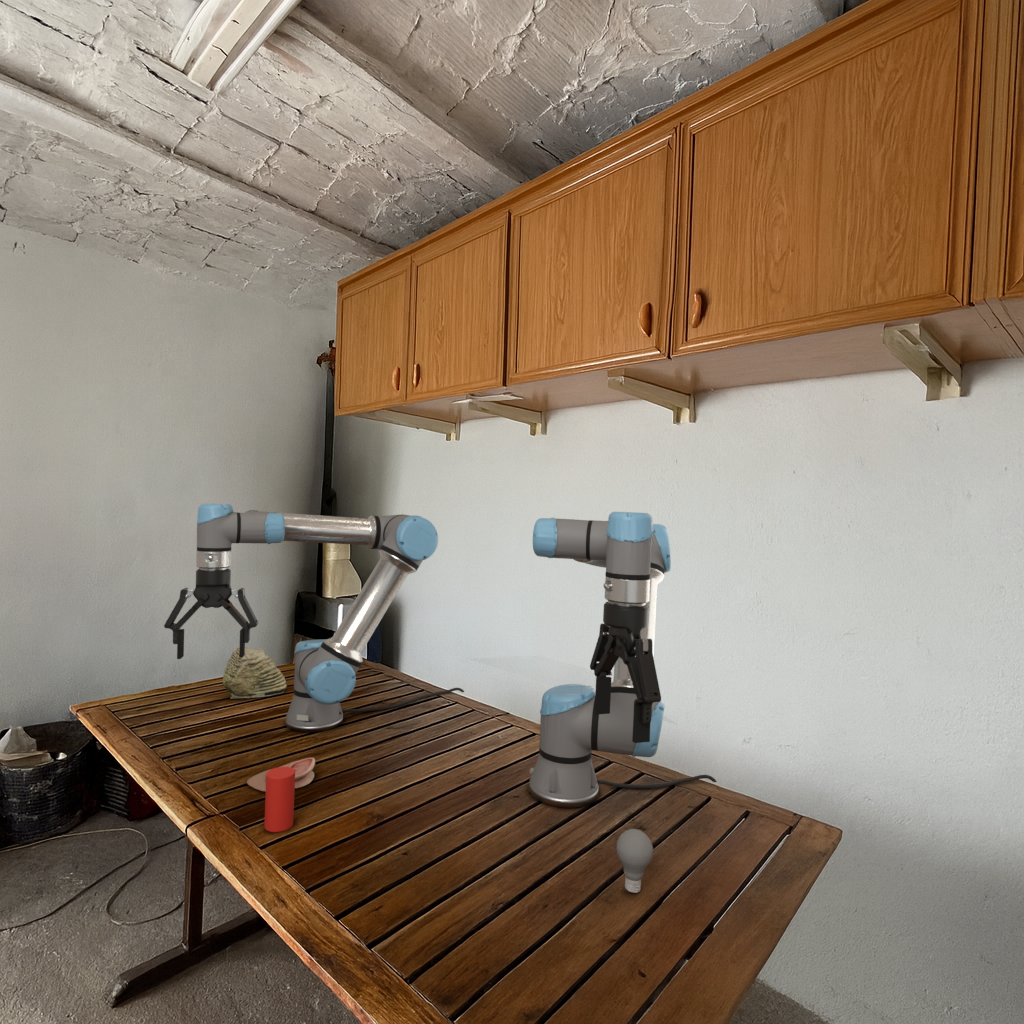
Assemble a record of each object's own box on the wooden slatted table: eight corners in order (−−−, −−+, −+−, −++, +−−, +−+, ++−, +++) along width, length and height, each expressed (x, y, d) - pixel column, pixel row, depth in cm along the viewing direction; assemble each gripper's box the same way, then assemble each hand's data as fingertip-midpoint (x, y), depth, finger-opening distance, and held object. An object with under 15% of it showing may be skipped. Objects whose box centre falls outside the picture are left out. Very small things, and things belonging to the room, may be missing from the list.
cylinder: (283, 834, 119) (285, 779, 118) (258, 829, 120) (260, 775, 120) (298, 820, 124) (300, 768, 123) (274, 816, 125) (276, 764, 125)
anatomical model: (238, 769, 136) (269, 749, 147) (238, 787, 136) (269, 766, 147) (295, 777, 133) (322, 756, 144) (294, 796, 133) (321, 773, 144)
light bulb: (610, 879, 108) (613, 822, 108) (644, 879, 109) (647, 822, 109) (619, 902, 102) (622, 840, 102) (655, 901, 103) (658, 840, 103)
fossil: (218, 695, 195) (220, 647, 195) (278, 685, 208) (279, 640, 207) (228, 703, 189) (230, 653, 188) (289, 692, 201) (290, 645, 201)
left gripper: (150, 569, 144) (148, 662, 145) (267, 570, 150) (264, 659, 151) (160, 566, 151) (158, 654, 152) (271, 567, 157) (269, 651, 158)
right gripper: (575, 591, 118) (570, 704, 118) (645, 616, 94) (638, 757, 95) (611, 591, 121) (606, 702, 121) (688, 616, 97) (681, 753, 97)
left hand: (211, 657), depth 151 cm, fingers open, 13 cm apart
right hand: (620, 726), depth 108 cm, fingers open, 13 cm apart
